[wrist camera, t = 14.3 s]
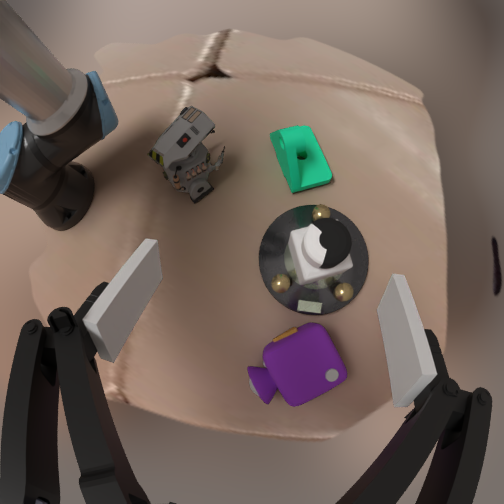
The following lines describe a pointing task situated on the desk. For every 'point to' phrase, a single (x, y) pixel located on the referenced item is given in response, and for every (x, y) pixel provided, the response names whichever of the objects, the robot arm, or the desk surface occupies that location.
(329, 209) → the plate
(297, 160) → the camera mount
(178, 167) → the figurine
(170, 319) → the desk surface
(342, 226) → the medicine bottle
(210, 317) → the desk surface
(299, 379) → the toy camera
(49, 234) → the desk surface
